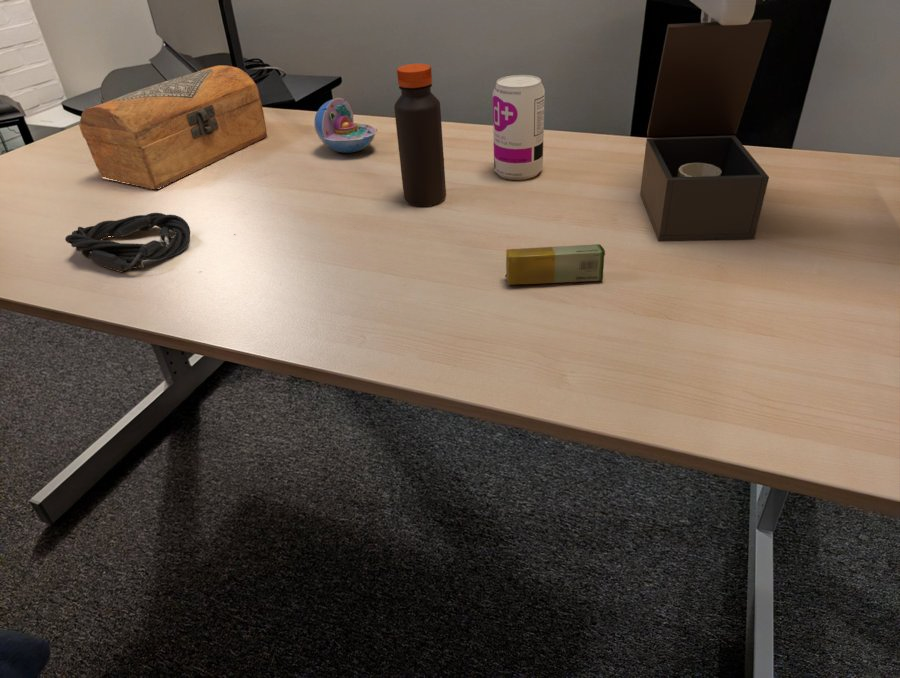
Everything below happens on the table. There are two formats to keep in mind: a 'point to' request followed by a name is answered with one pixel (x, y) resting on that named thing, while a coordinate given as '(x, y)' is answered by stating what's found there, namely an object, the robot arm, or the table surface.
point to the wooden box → (174, 126)
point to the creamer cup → (698, 170)
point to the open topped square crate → (702, 189)
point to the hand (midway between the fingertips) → (709, 49)
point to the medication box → (555, 264)
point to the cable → (126, 253)
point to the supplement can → (518, 126)
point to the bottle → (419, 137)
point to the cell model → (341, 127)
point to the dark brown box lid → (705, 77)
